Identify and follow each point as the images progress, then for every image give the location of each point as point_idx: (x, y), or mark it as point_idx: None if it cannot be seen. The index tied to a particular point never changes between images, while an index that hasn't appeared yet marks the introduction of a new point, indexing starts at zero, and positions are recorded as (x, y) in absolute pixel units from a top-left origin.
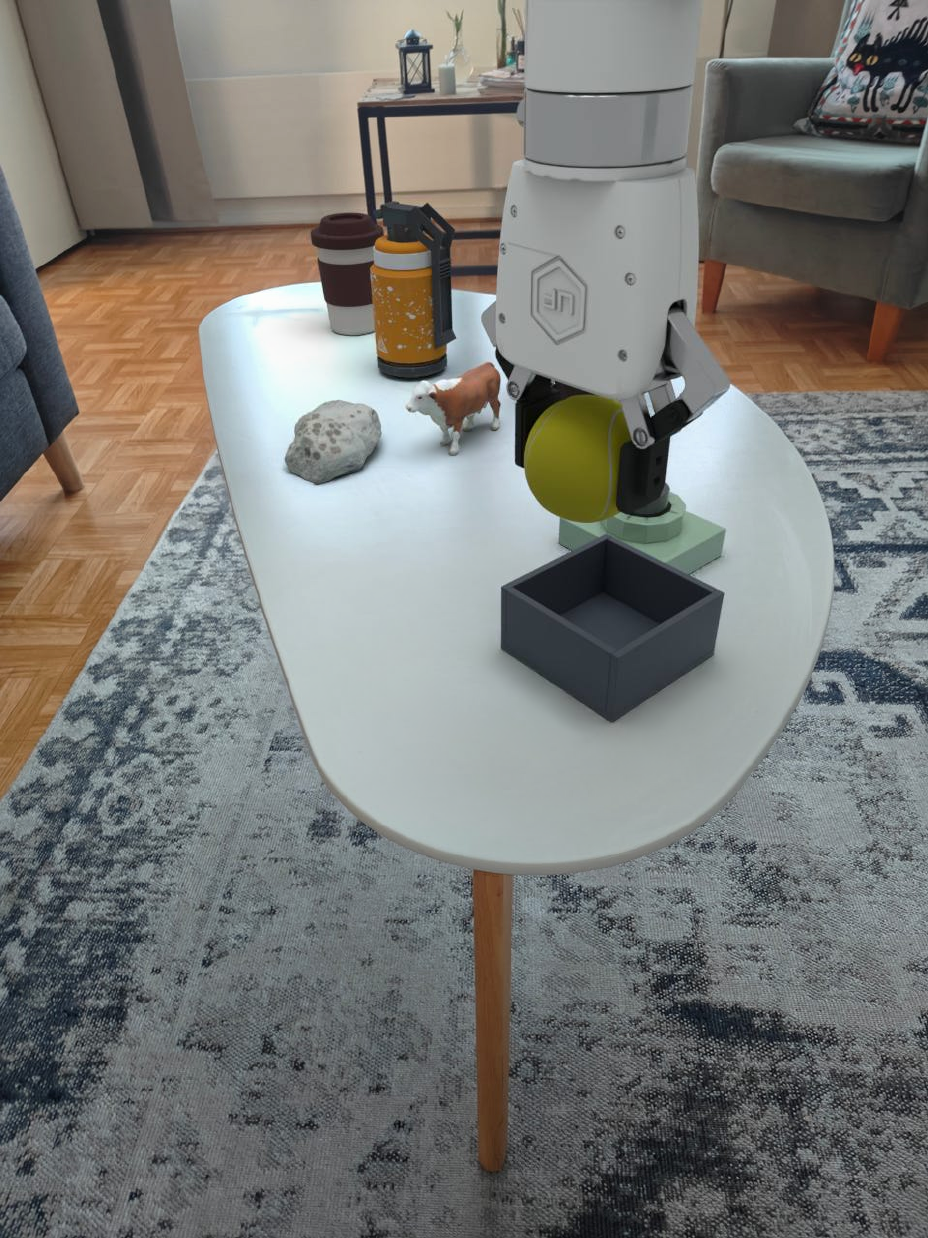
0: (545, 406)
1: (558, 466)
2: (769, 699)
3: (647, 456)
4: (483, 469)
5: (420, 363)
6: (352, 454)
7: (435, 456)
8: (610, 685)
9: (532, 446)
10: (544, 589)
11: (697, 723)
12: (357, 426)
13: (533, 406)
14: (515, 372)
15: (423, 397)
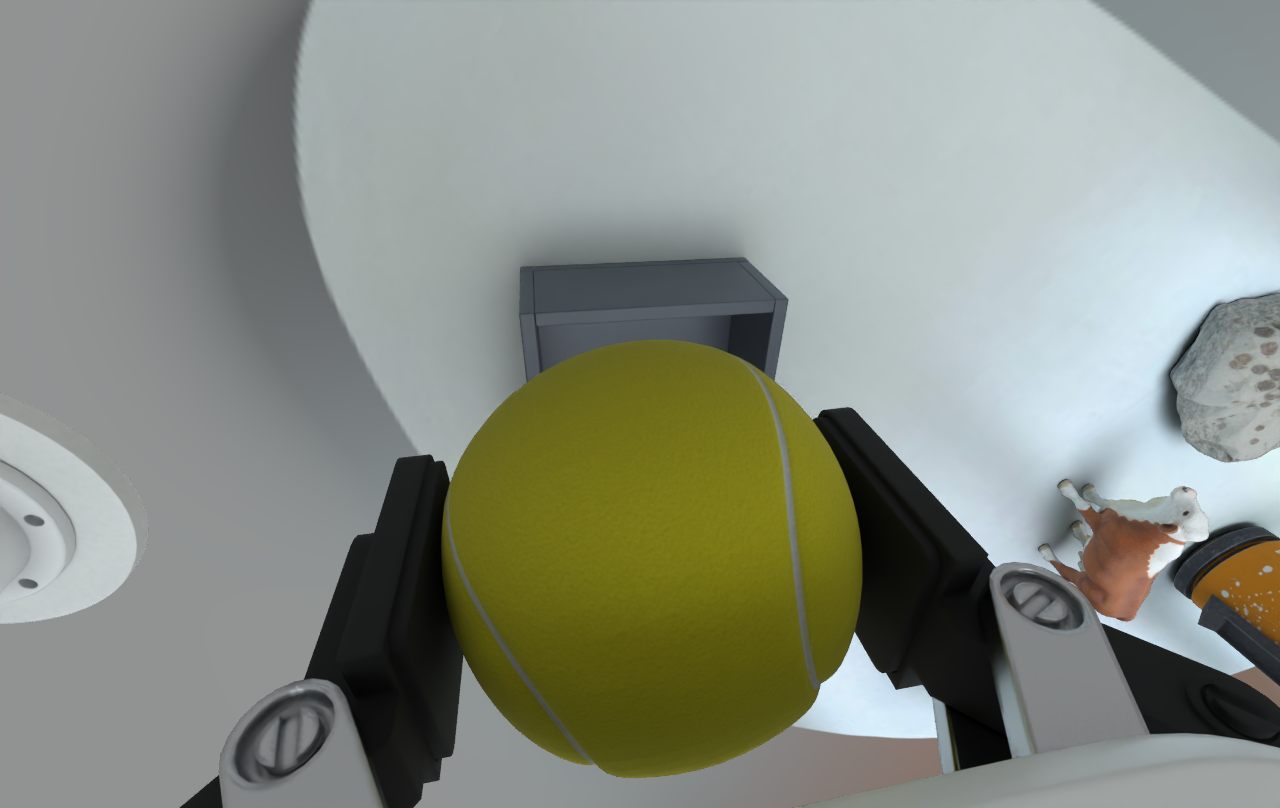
0: (889, 611)
1: (598, 426)
2: (437, 445)
3: (317, 663)
4: (1007, 489)
5: (1212, 566)
6: (1205, 377)
7: (1082, 464)
8: (528, 289)
9: (765, 436)
10: (750, 362)
11: (452, 352)
12: (1236, 420)
13: (916, 585)
14: (1103, 677)
15: (1181, 516)
